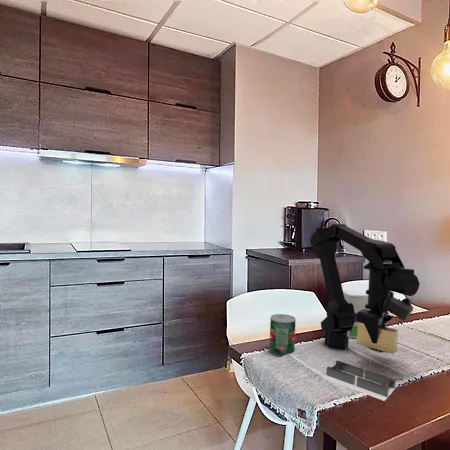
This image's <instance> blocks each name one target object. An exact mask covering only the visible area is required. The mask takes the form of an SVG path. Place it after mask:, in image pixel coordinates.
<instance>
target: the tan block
mask: <svg viewBox="0 0 450 450" xmlns="http://www.w3.org/2000/svg"><path fill="white" fill-rule="evenodd" d="M398 339H399V329H396V328H392V327H387V326H386V327H385V326H381V327H380V332H379V336H378V341H377V344H374V343H372V341H371V338H370V336H369V334H368V331H367V329H366V327H365V325H364V323H358V333H357V338H356V345H361V346H364V347H366V348H369V349H370V348H371V349H373V348H374V350H376V349H377V350H376V351H380V350H381V352H384V353H389V354H392V355H394V354H395V353H397V352H398Z"/></svg>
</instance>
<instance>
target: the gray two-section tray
mask: <svg viewBox="0 0 450 450" xmlns="http://www.w3.org/2000/svg"><path fill="white" fill-rule="evenodd" d="M343 371H344V372H343ZM345 372H347V373H345ZM348 373H350V374H348ZM363 373H365V379H363V378H360V377H363ZM351 374H353V375H351ZM325 375H328V376H330V377H333V378H336V379H339V380H341V381H344V382H347V383H350V384H352V385H354V384H355V376H354V375H356V376H359V377H358V378H357V386H358V387H361V388H363V389H366V390H369V391H372V392H374V393H377V394H380V395H383V396H385V397H387V396H388V390H389V389H390V388H395V384H397V383H396V381H397V380H396V379H395V378H392V377H390V376H386V375H383V374H380V373H377V372H373V371H372V370H368V369H366V370H365V371H364V368H362V367H359V366H355V365H352V364H349V363H347V362H344V361H341V360H335V364H334V365H333V366H328V367H326V374H325ZM366 379H367V380H366ZM369 380H370V381H369ZM371 381H373V382H371ZM374 382H376V383H374ZM377 383H379V384H377ZM380 384H381V385H380ZM395 389H396V388H395Z"/></svg>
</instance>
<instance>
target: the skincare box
mask: <svg viewBox="0 0 450 450" xmlns="http://www.w3.org/2000/svg"><path fill="white" fill-rule="evenodd" d="M343 293H344V298H345V300H346V301H347V302H348V303H352V304H353V306H354V311H355V314H356V313H357V312H359V311H360V310H362V309H366V308H365V305H366V304H368V294H366V292H363V291H361V290H360V291H355V290H343ZM366 310H370V309H366ZM358 323H360V322H356V321H355V323H354V325H353V328H352V330H351V331H347V336H348V337H349V339H357V333H358Z"/></svg>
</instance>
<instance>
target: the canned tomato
mask: <svg viewBox="0 0 450 450" xmlns="http://www.w3.org/2000/svg"><path fill="white" fill-rule="evenodd" d="M296 321H297V319H296V317H294V316H292V315H290V314H282V313H281V314H280V313H278V314H276V313H275V314H272V315H270V322H269V324H270V325H269V326H270V327H269V351H268V352H269V354H271V355H272V356H275V357H279V358H283V357H285V356H286V355H289V354H292V353H294V352H295V347H296V346H295V345H296V344H295V343H296Z"/></svg>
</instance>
